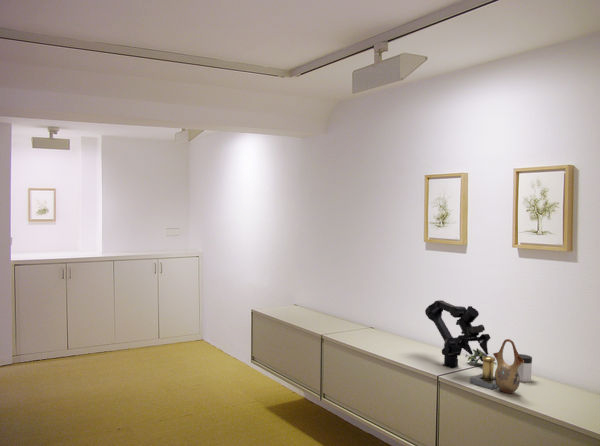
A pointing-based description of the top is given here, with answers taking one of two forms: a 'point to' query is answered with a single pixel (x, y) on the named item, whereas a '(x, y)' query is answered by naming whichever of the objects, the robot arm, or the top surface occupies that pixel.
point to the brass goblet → (488, 368)
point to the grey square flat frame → (483, 382)
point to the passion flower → (477, 353)
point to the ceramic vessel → (507, 370)
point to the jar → (525, 368)
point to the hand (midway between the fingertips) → (479, 354)
